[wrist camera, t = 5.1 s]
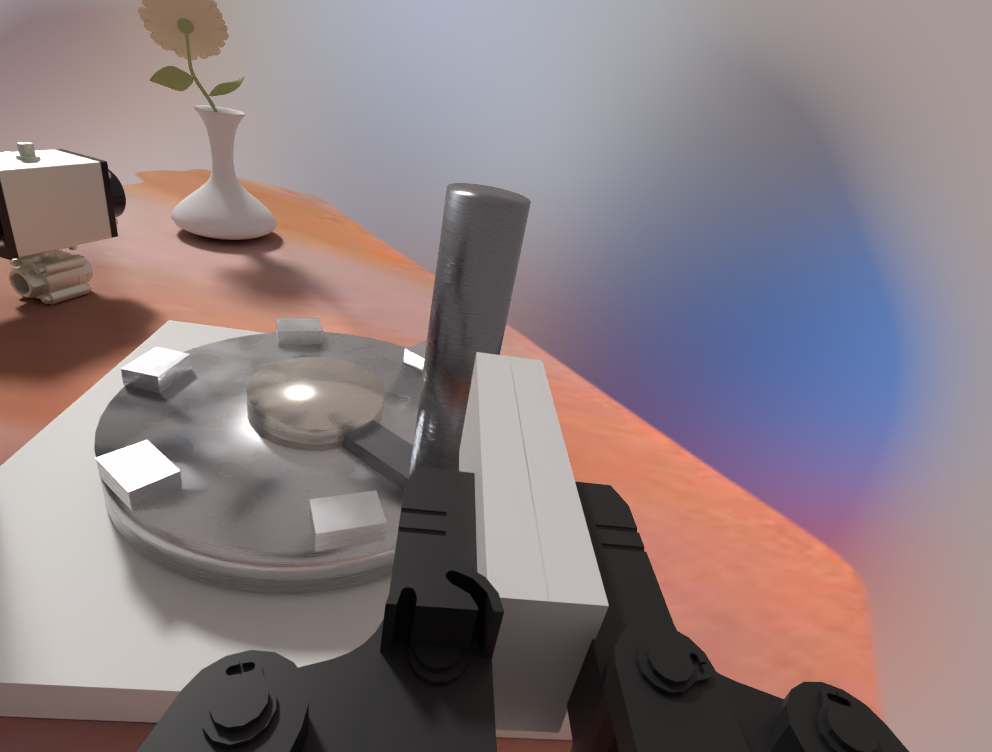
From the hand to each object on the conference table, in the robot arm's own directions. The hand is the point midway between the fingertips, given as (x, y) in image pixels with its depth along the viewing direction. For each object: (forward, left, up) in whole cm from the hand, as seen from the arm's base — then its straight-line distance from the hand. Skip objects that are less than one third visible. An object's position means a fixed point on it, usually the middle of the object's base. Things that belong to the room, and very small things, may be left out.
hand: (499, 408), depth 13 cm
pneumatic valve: (-33, +35, -16) cm, 51 cm away
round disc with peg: (-7, +15, -13) cm, 22 cm away
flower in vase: (-28, +58, -16) cm, 67 cm away
